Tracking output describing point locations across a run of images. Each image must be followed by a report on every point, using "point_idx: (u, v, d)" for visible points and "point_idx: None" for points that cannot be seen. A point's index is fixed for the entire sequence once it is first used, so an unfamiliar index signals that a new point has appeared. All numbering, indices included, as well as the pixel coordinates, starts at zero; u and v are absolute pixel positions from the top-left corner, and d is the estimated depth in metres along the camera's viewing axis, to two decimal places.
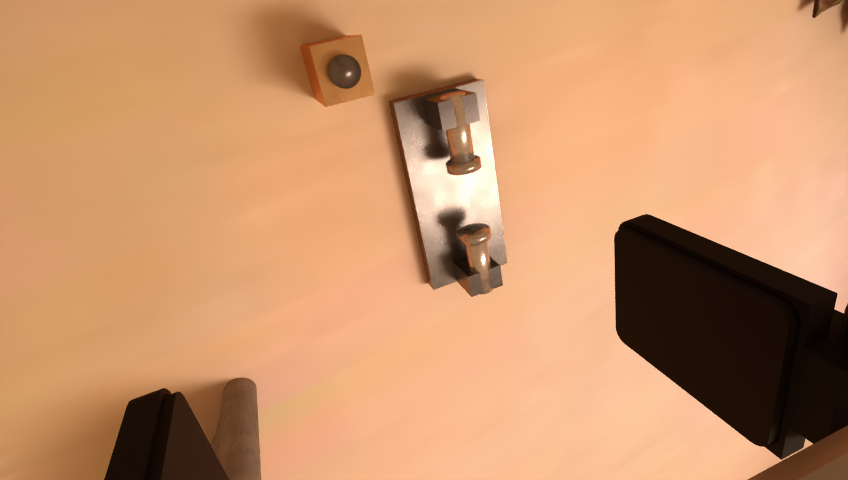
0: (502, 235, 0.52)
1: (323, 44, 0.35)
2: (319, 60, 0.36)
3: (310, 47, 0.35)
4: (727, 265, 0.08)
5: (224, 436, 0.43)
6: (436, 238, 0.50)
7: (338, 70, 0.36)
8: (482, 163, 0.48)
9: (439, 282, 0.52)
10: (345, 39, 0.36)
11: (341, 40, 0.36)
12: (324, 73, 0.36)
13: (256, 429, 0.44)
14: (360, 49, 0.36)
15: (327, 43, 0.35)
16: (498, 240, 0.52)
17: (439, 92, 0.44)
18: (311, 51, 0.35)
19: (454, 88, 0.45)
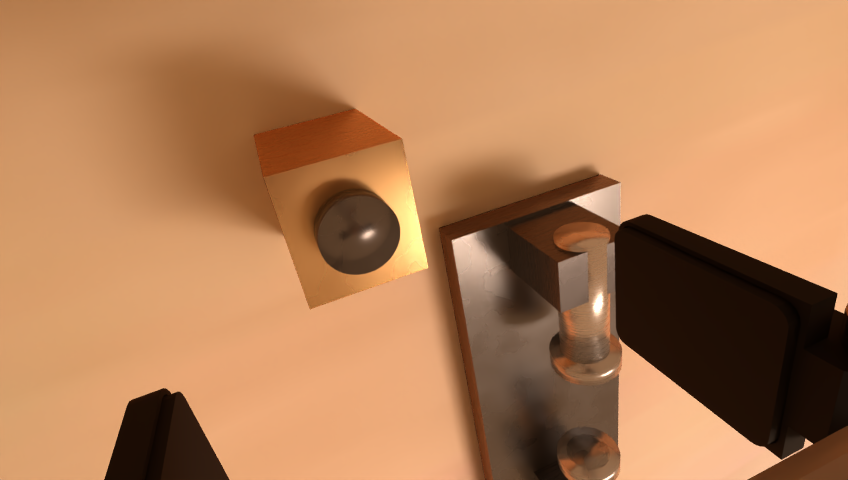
0: (616, 421, 0.31)
1: (302, 169, 0.13)
2: (292, 208, 0.14)
3: (267, 179, 0.13)
4: (727, 265, 0.08)
5: None
6: (511, 445, 0.28)
7: (342, 235, 0.14)
8: None
9: None
10: (360, 152, 0.14)
11: (350, 155, 0.14)
12: (305, 236, 0.14)
13: None
14: (398, 173, 0.14)
15: (313, 166, 0.13)
16: (609, 429, 0.31)
17: (539, 212, 0.22)
18: (270, 188, 0.13)
19: (567, 202, 0.23)
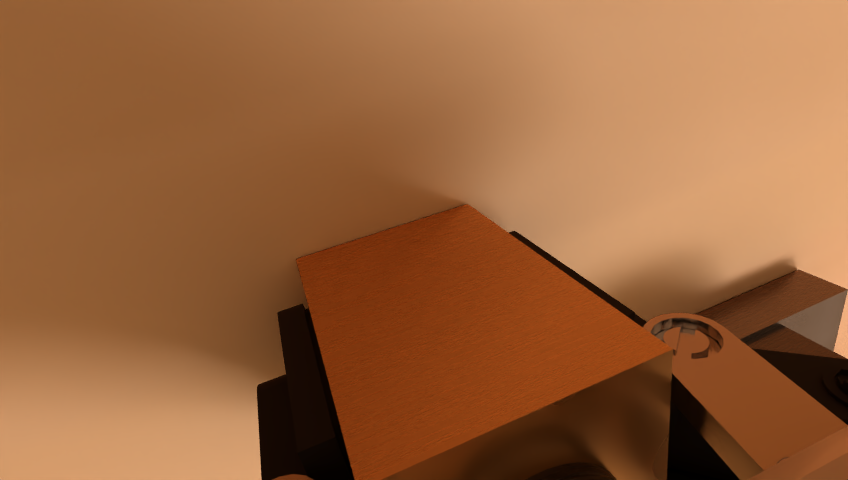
0: None
1: (452, 453, 0.05)
2: None
3: None
4: None
5: None
6: None
7: None
8: None
9: None
10: (584, 393, 0.06)
11: (561, 403, 0.06)
12: None
13: None
14: (650, 418, 0.06)
15: (477, 441, 0.05)
16: None
17: None
18: None
19: (774, 325, 0.14)
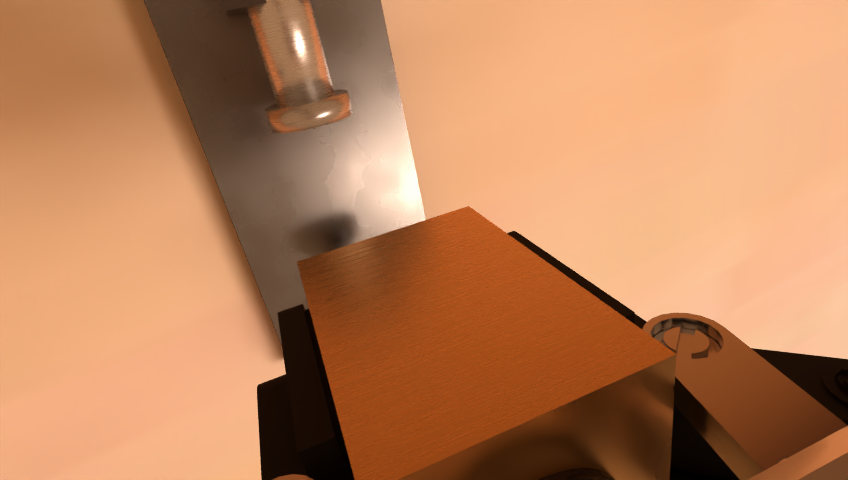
0: None
1: (455, 459, 0.05)
2: None
3: None
4: None
5: None
6: (287, 275, 0.24)
7: None
8: (377, 118, 0.23)
9: None
10: (587, 398, 0.06)
11: (564, 408, 0.05)
12: None
13: None
14: (653, 423, 0.06)
15: (480, 446, 0.05)
16: None
17: None
18: None
19: None
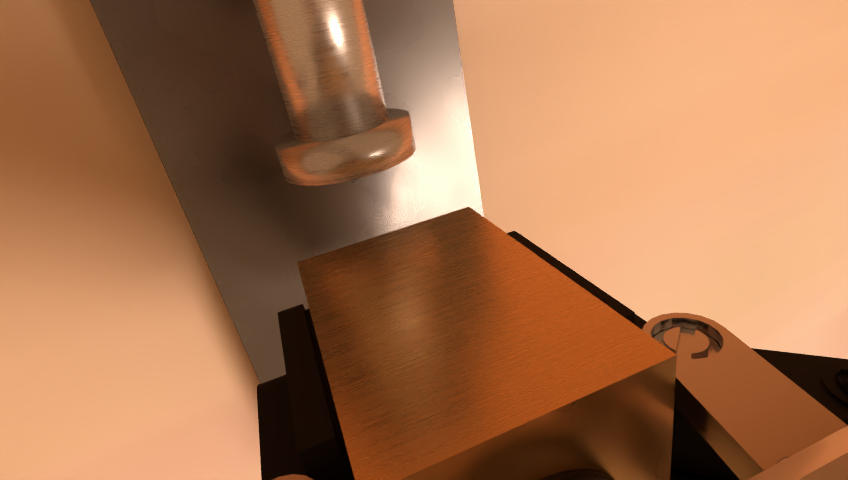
0: None
1: (455, 460, 0.05)
2: None
3: None
4: None
5: None
6: None
7: None
8: (435, 146, 0.15)
9: None
10: (588, 399, 0.06)
11: (564, 409, 0.05)
12: None
13: None
14: (653, 424, 0.06)
15: (480, 447, 0.05)
16: None
17: None
18: None
19: None
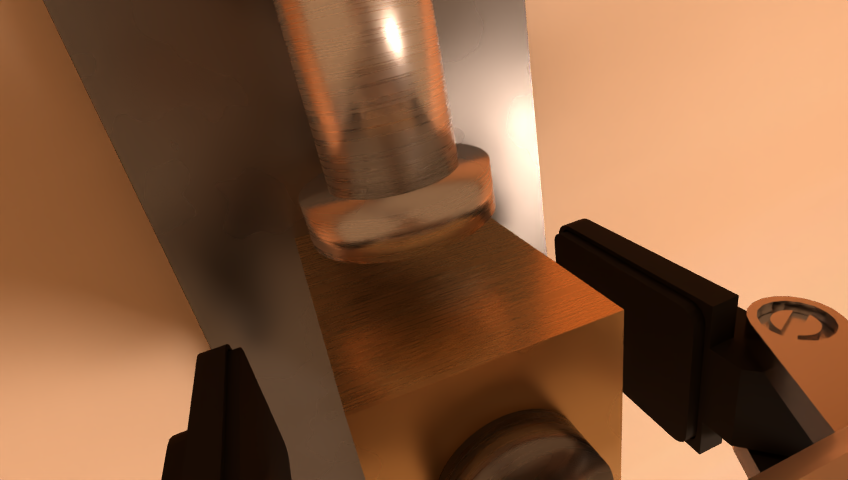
0: None
1: (428, 390, 0.06)
2: (398, 464, 0.06)
3: (353, 419, 0.06)
4: (646, 268, 0.08)
5: None
6: (324, 453, 0.13)
7: None
8: (494, 182, 0.12)
9: None
10: (545, 344, 0.06)
11: (524, 352, 0.06)
12: None
13: None
14: (604, 372, 0.07)
15: (450, 380, 0.06)
16: None
17: None
18: (357, 435, 0.06)
19: None
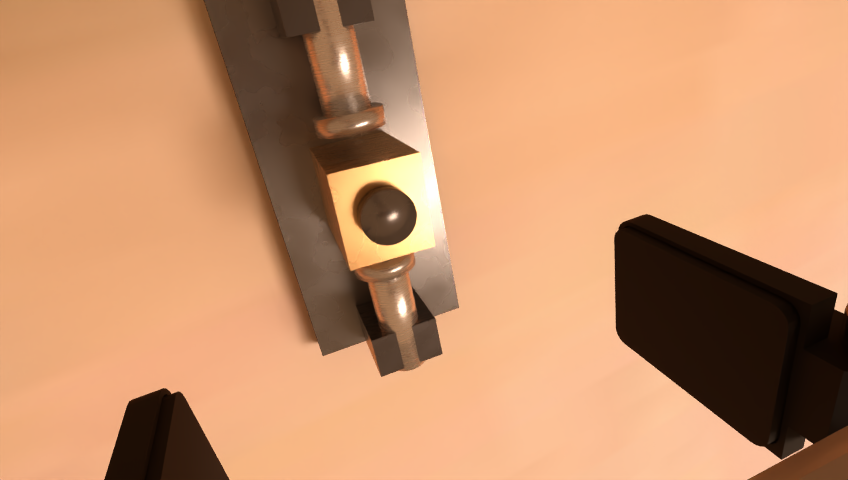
0: (448, 260, 0.30)
1: (352, 170, 0.20)
2: (343, 197, 0.20)
3: (329, 176, 0.19)
4: (727, 265, 0.08)
5: None
6: (321, 265, 0.27)
7: (377, 216, 0.20)
8: (403, 127, 0.26)
9: (333, 343, 0.29)
10: (392, 160, 0.20)
11: (384, 162, 0.20)
12: (351, 217, 0.20)
13: None
14: (416, 176, 0.21)
15: (359, 168, 0.20)
16: (441, 269, 0.30)
17: None
18: (330, 182, 0.19)
19: None
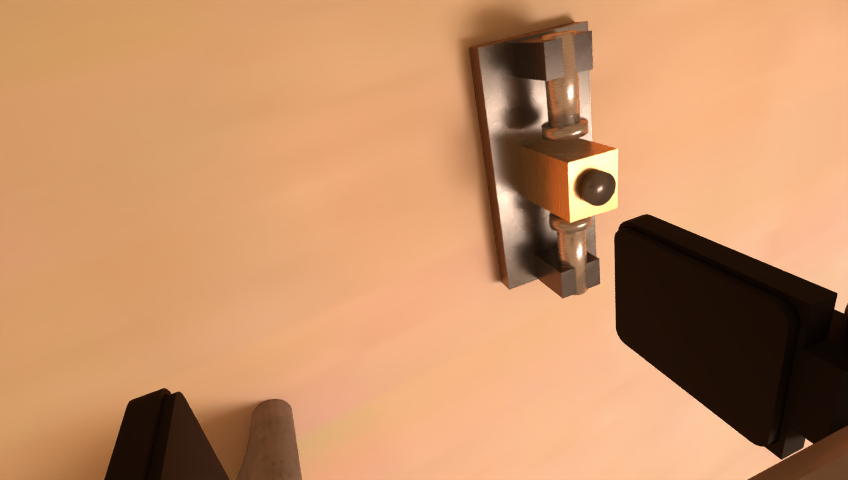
0: (593, 222, 0.43)
1: (581, 160, 0.32)
2: (574, 176, 0.33)
3: (568, 164, 0.32)
4: (727, 265, 0.08)
5: (258, 479, 0.33)
6: (517, 225, 0.40)
7: (595, 188, 0.33)
8: None
9: (517, 280, 0.42)
10: (602, 154, 0.33)
11: (598, 155, 0.33)
12: (576, 189, 0.33)
13: (298, 468, 0.34)
14: (613, 163, 0.33)
15: (585, 159, 0.32)
16: (588, 228, 0.43)
17: (534, 35, 0.34)
18: (568, 168, 0.32)
19: (552, 31, 0.35)
